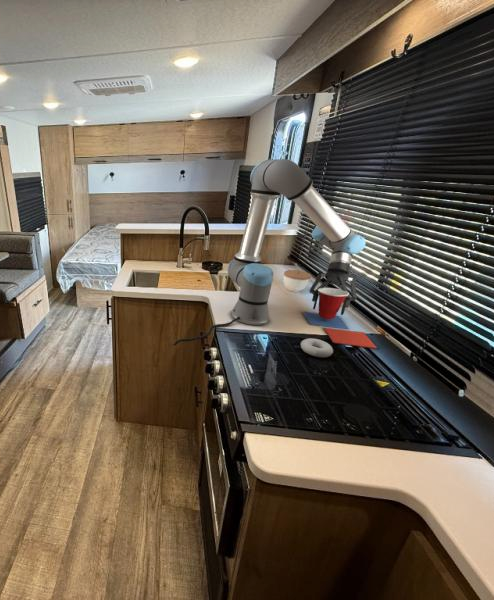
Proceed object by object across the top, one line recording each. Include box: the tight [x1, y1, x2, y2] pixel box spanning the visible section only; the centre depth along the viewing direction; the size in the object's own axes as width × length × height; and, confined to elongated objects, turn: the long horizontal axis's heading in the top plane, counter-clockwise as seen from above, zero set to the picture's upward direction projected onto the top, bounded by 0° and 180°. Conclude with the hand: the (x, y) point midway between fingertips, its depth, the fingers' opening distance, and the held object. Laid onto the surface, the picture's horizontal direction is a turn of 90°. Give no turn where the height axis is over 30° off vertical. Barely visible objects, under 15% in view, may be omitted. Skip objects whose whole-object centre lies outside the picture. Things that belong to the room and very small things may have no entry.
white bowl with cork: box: [282, 269, 312, 293], centre depth 165 cm, size 13×13×11 cm
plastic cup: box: [317, 287, 350, 319], centre depth 131 cm, size 11×11×12 cm
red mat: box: [323, 327, 378, 350], centre depth 120 cm, size 12×14×1 cm
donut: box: [300, 338, 334, 359], centre depth 111 cm, size 10×4×10 cm
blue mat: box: [302, 311, 349, 330], centre depth 134 cm, size 12×14×1 cm
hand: (327, 310), depth 129 cm, fingers closed on plastic cup, 9 cm apart
